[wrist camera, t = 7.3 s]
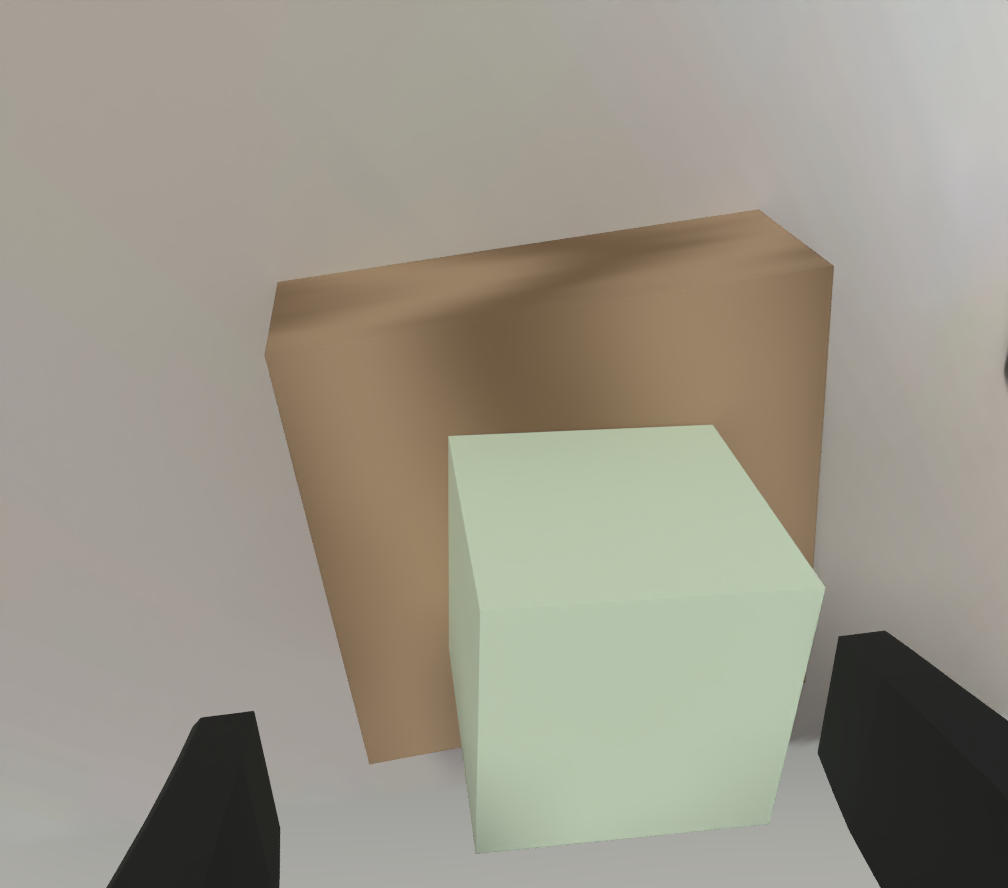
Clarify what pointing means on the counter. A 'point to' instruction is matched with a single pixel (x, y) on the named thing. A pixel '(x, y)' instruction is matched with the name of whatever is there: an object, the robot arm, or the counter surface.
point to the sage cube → (620, 635)
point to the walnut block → (527, 408)
